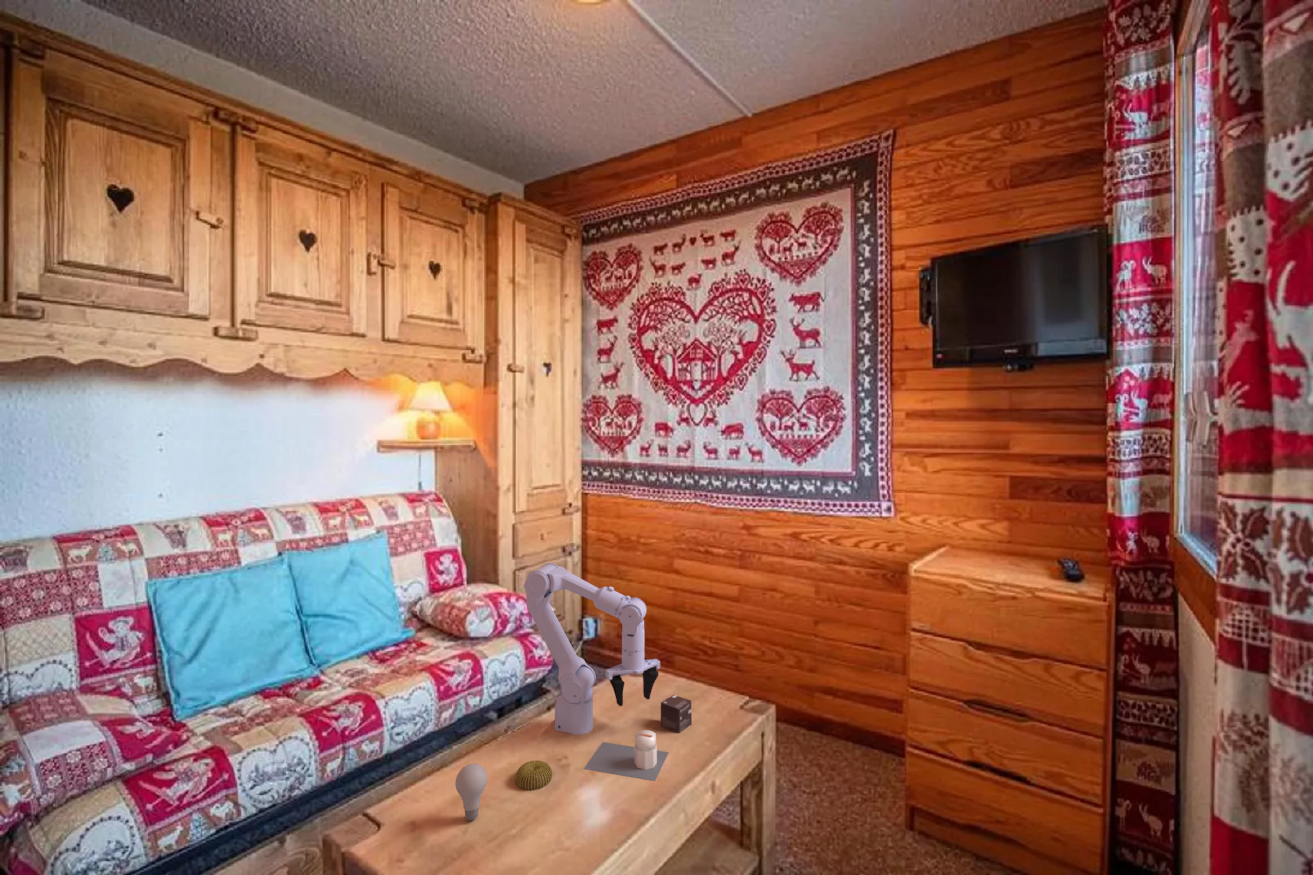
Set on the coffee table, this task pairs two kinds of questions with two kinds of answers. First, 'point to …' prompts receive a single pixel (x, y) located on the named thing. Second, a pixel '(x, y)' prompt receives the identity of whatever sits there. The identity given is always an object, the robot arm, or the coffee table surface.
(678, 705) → the box
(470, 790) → the lightbulb
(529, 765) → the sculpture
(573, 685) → the robot arm
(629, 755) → the board
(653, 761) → the knob
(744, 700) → the coffee table surface
